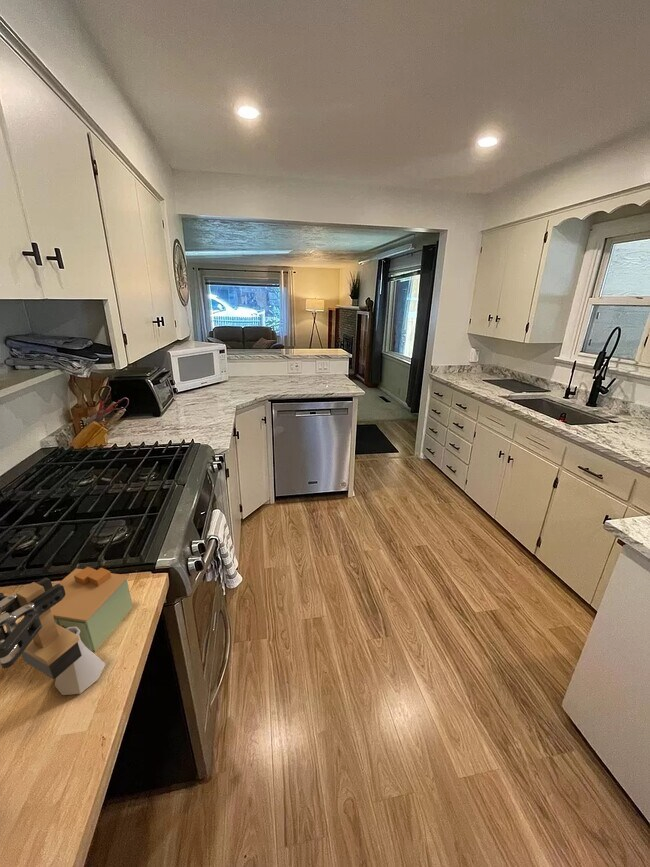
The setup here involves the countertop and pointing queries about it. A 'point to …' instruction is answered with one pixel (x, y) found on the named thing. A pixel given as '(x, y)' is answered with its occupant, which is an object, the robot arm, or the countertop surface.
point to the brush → (48, 640)
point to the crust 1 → (84, 575)
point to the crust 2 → (99, 576)
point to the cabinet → (93, 607)
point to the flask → (80, 670)
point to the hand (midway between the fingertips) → (55, 586)
